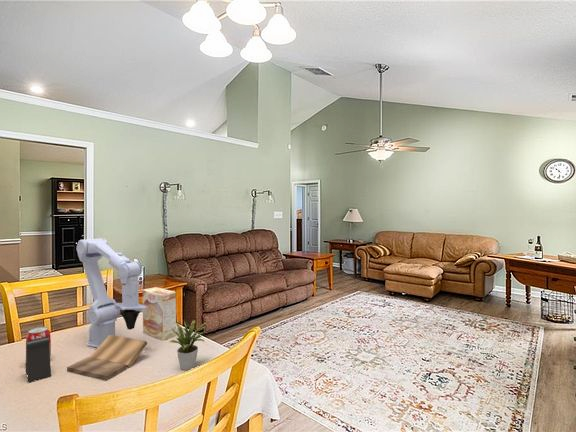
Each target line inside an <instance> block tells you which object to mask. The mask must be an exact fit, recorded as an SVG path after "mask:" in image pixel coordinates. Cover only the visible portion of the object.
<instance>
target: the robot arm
mask: <svg viewBox="0 0 576 432" xmlns="http://www.w3.org/2000/svg"><path fill="white" fill-rule="evenodd" d="M75 249H76V252H77V257H78V259H79V261H80V262H82V265H83V269H84V272H85V275H86V279H87V281H88V285H89V289H90V292H91V295H92V299H93V302H92V303H91V305H90V306H89V308H88V313H89V317H88V318H89V321H90V323H91V324H90V325H89V328H88V339H89V340H88V342H89V343H87V344H86V345H87V346H89V347H93V348H96V349H97V348H98V347H99V346H100V345H101V344H102V343H103V342H104V340H105V339H106V338H107V337H108V336H109V335H114V336H116V322H117V321H118V320H117V319H118V318H119V317H120V315H121V317H122V318H123V320H124V322H125V325H126V328H127V330H129V331H131V330H133V329H135V327H136V324H137V319H138V317H139V314H140V313H142V314H143V313H144V312H147V306H144V305H143V304H141V303H139V299H140V298H139V297H140V296H139V295H140V294H139V277H140V276H141V274H142V271H143V269H142V265H141V263H140V262H139V261H133V260H131V259H129V258H128V257H126V256H125V255H124V254H123V252H116V251H114V249H113V248H111V247H110V245H109V242H108V240H107V239H106V238H104V237H100V238H99V237H98V238H90V239H80V240H78V242H77V244H76V248H75ZM103 257H104V258H106V260H108V264H109V265H110V266H111V267H112V268H114V269H115V270H116V271H117V273H118V276H119V278H120V279H119V281H120V283H121V295H122V296H121V300H122V302H116V300H115V299H114V298H111V296H110V297H109V296H108V295H109V294H108V292H107V289H106V285H105V283H104V280H103V275H102V272H101V270H100V266H99V263H98V262H99V260H101V259H102V258H103Z"/></svg>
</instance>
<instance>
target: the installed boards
mask: <svg viewBox="0 0 576 432" xmlns="http://www.w3.org/2000/svg"><path fill="white" fill-rule="evenodd" d="M126 370H127V367H126V365H124V364H119V363H115V362H110V361H105V360H100V359H96V358H91V357H90V356H88V357H85V358H83V359H82V360H79V361H77V362H75V363H72V364H71V365H68V366H66V372H68V373H72V374H76V375H81V376H86V377H87V378H94V379H97V380H101V381H108V380H111V379H112V378H114V377H116V376H117V375H119V374H121V373H123V372H124V371H126Z"/></svg>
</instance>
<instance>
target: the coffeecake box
mask: <svg viewBox="0 0 576 432" xmlns="http://www.w3.org/2000/svg"><path fill="white" fill-rule="evenodd" d="M176 293H177V292H176V291H175V290H170V289H166V288H161V287H157V286H154V287H150V288H145V289H142V305H144V306H147V312H144V313H142V324H143V325H142V328H143V329H142V333H143V334H144V335H147V336H151V337H153V338H155V339H158V340H160V341H165V339H166V340H167V338H168V339H170V338H173V337H175V335H176V336H177V334H175V332H174V331H176V332H177V325H176V323H177V304H176V303H177V302H176V301H177V297H176ZM175 322H176V323H175ZM171 329H172V330H174V331H172V330H171Z"/></svg>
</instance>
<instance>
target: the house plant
mask: <svg viewBox="0 0 576 432" xmlns="http://www.w3.org/2000/svg"><path fill="white" fill-rule="evenodd" d="M183 322H184V328H182V326H181V325H180V324H179V323H178V322H177V321H176V322H175V323H176V328H177V330H178V332H179V333H178V332H177V330H176V331H174V330H172V329H171V330H172V331H174V332H175V334H176V336H177V337H176V340H175V339H172V340H170V341H169V343H175V344H179V345H180V347H179V348H177V350H176V353H177V357H178V363H179V368H180V370H183V371H190V370H192V369H191V368H193V369H194V368H195V367H196V364H197V359H198V358H197V357H198V353H199V352H198V351H199V347H198V346H197V345H196V344H195V343H196V342H197V341H199V342H201V341H202V342H205V339H202V338H201V337H202V334H204V333H205V332H204V331H203V332H199V331H200V330H202V329H206V326H205V325H206V324H207V323H209V322H205V323H202V324H201V325H199V326H198V327H197V328H196V329H194V328H195V323H196V320H194V319H192V321H191V322H190V325H189V329H188V325H187V324H186V321H185V320H183ZM189 369H190V370H189Z"/></svg>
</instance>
